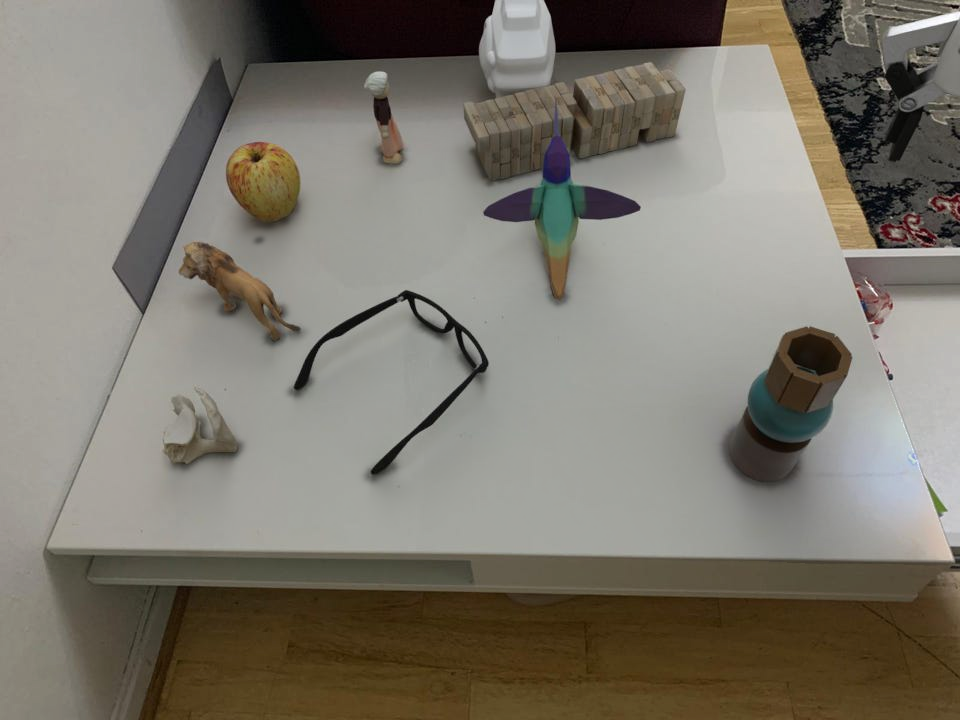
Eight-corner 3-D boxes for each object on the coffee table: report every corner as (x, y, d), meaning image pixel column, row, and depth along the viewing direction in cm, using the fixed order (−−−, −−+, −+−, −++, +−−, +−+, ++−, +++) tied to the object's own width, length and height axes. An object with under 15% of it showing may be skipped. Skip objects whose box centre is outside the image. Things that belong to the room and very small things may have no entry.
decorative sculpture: (615, 193, 97) (628, 95, 85) (631, 298, 86) (648, 203, 74) (488, 197, 98) (483, 100, 86) (487, 302, 87) (481, 208, 75)
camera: (550, 62, 115) (553, -42, 102) (557, 133, 105) (561, 28, 92) (481, 65, 116) (476, -38, 103) (481, 136, 105) (474, 32, 92)
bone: (135, 442, 76) (145, 367, 71) (188, 422, 81) (202, 351, 76) (185, 492, 73) (199, 418, 68) (237, 468, 78) (254, 397, 73)
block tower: (651, 111, 108) (464, 150, 104) (661, 58, 101) (461, 98, 97) (674, 142, 104) (480, 185, 99) (687, 89, 97) (478, 132, 92)
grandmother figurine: (412, 164, 103) (399, 84, 92) (386, 171, 102) (370, 92, 92) (395, 133, 107) (381, 53, 97) (370, 140, 106) (354, 61, 96)
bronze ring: (839, 372, 64) (857, 341, 60) (824, 421, 61) (842, 391, 57) (774, 350, 66) (788, 319, 62) (757, 397, 63) (771, 367, 59)
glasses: (505, 387, 81) (506, 360, 77) (378, 483, 74) (372, 458, 70) (413, 305, 88) (409, 277, 84) (290, 385, 81) (279, 358, 77)
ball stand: (806, 439, 74) (853, 365, 64) (788, 497, 71) (835, 429, 60) (736, 412, 76) (770, 336, 66) (715, 467, 73) (748, 397, 62)
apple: (286, 179, 102) (265, 118, 94) (321, 210, 98) (303, 150, 90) (230, 210, 99) (203, 150, 91) (264, 244, 95) (239, 184, 87)
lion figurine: (193, 307, 89) (163, 256, 82) (220, 278, 92) (194, 226, 84) (289, 348, 84) (266, 298, 77) (315, 316, 87) (296, 265, 80)
